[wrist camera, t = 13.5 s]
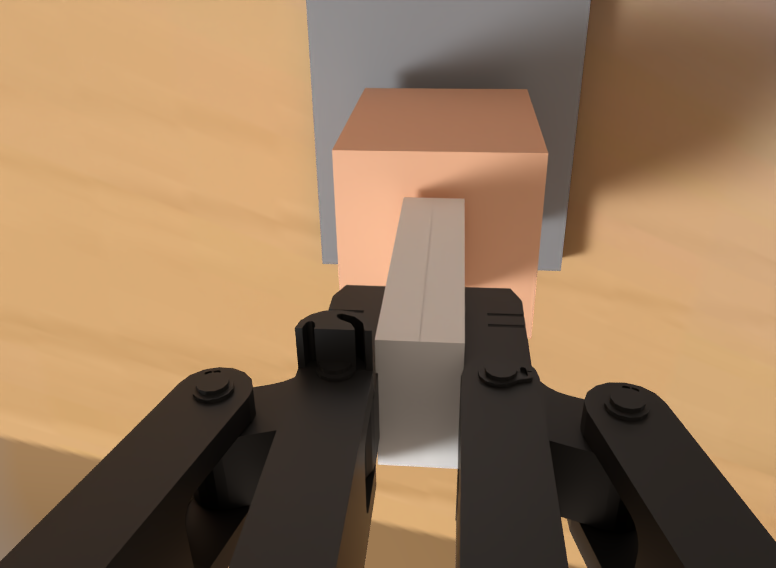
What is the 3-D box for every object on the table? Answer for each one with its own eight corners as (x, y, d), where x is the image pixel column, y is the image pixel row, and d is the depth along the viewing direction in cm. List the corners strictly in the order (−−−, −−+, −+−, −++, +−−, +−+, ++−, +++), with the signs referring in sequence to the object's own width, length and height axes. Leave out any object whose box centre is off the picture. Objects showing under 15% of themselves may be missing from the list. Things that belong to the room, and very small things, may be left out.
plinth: (327, 252, 29) (322, 263, 28) (308, -54, 23) (302, -52, 22) (557, 259, 28) (560, 270, 27) (591, -57, 23) (596, -55, 22)
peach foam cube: (364, 88, 23) (331, 149, 18) (527, 89, 23) (548, 153, 17) (369, 234, 26) (341, 331, 20) (516, 238, 25) (531, 338, 20)
